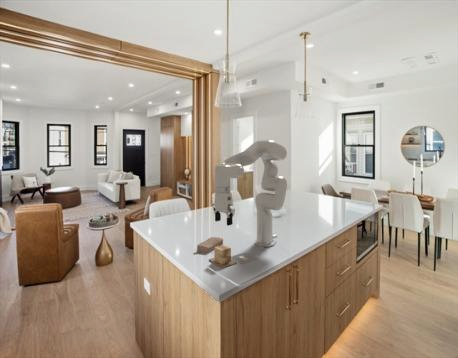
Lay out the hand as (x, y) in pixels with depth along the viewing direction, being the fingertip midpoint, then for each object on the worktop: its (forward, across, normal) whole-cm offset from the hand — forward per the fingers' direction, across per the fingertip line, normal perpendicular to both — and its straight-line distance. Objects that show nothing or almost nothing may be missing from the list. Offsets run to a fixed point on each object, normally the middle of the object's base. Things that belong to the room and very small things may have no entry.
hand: (223, 222), depth 130 cm
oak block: (+19, 0, +2) cm, 19 cm away
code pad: (+21, -4, -10) cm, 23 cm away
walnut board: (+21, 0, +2) cm, 21 cm away
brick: (+21, +20, -5) cm, 30 cm away
